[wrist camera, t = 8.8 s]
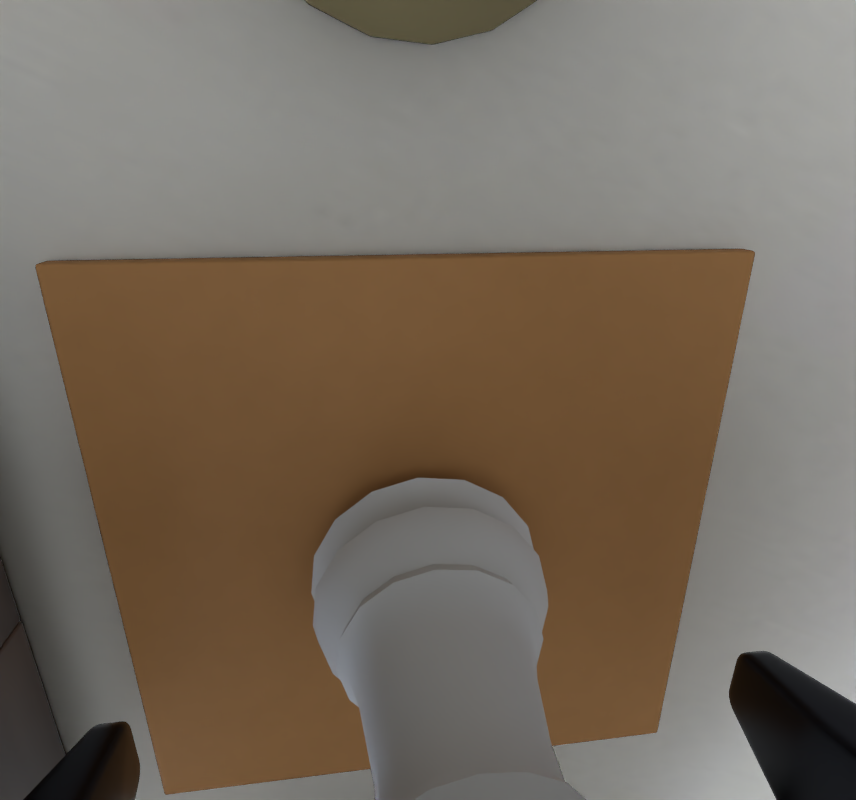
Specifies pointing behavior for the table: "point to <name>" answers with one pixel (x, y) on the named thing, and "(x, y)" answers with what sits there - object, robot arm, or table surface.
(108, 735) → the robot arm
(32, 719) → the piece rack
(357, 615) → the rook chess piece
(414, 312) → the cork mat
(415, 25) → the pepper shaker
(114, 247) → the table surface
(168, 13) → the table surface
